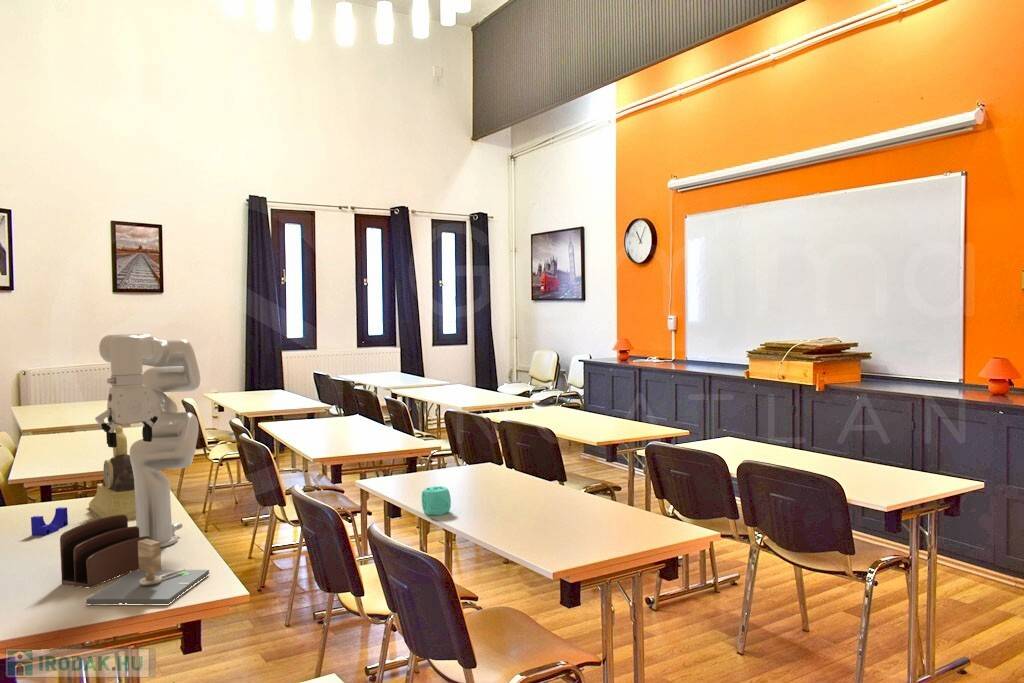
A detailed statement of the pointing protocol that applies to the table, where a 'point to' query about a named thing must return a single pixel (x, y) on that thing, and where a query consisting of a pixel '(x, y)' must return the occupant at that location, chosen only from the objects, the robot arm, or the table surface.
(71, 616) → the table surface
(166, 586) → the dial board
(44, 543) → the table surface
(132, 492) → the decorative clock
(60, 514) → the cable clip
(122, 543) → the letter holder
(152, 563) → the tuning knob
